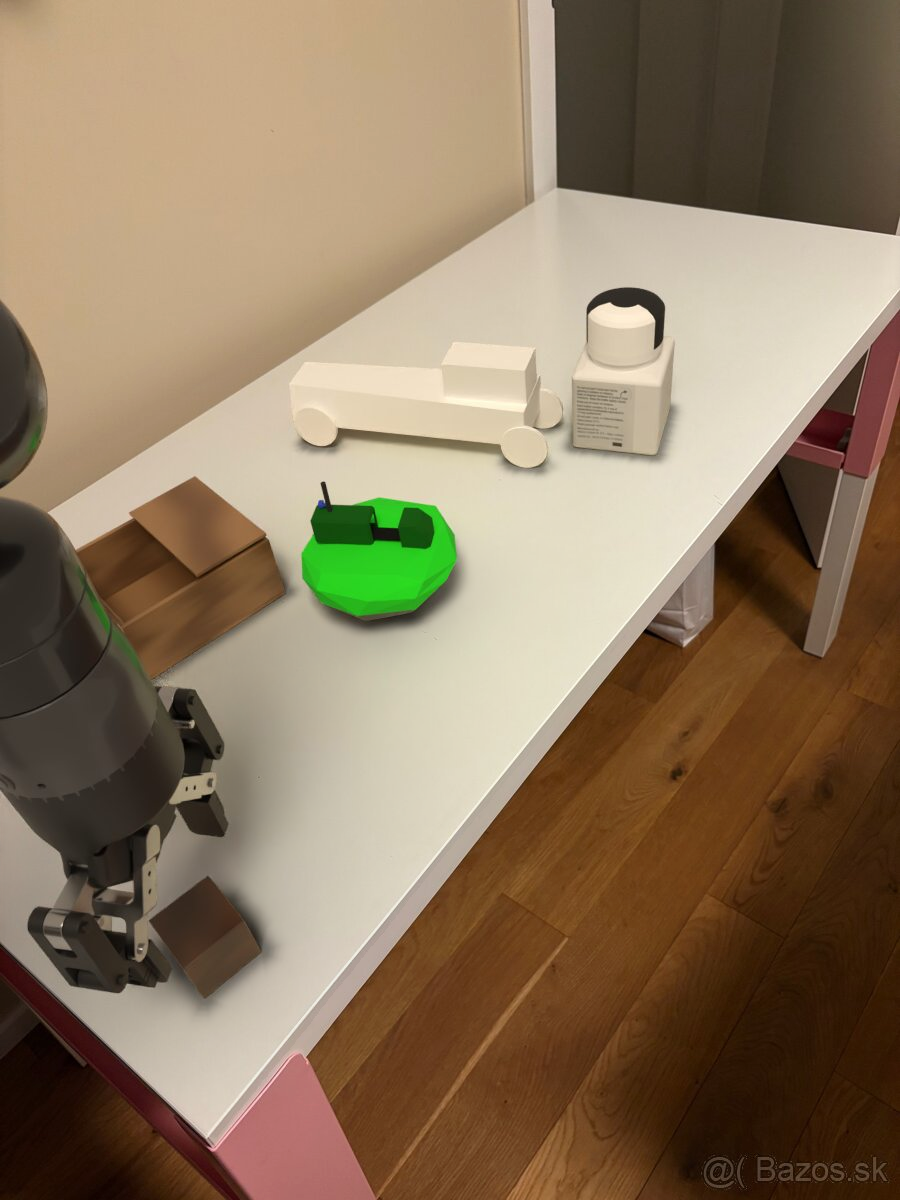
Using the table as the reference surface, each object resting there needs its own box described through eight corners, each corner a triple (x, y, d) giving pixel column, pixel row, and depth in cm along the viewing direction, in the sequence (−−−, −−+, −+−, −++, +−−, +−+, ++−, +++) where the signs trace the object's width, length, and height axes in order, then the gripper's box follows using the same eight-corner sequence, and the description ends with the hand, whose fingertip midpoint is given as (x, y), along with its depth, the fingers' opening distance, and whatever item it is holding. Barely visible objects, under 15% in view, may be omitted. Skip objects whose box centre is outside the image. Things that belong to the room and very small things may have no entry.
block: (204, 999, 54) (183, 970, 51) (169, 951, 57) (147, 920, 54) (262, 952, 56) (244, 920, 53) (226, 906, 58) (208, 874, 55)
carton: (148, 681, 72) (118, 621, 67) (86, 611, 78) (54, 552, 74) (286, 593, 77) (266, 532, 73) (217, 534, 84) (195, 475, 79)
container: (589, 401, 92) (590, 275, 83) (670, 408, 90) (679, 279, 81) (571, 448, 87) (569, 319, 78) (656, 457, 85) (665, 326, 76)
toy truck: (564, 427, 90) (562, 340, 83) (546, 473, 85) (543, 384, 78) (322, 404, 96) (303, 322, 90) (294, 445, 92) (272, 362, 85)
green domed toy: (297, 646, 73) (263, 539, 65) (336, 543, 81) (309, 438, 73) (450, 656, 71) (434, 546, 63) (474, 549, 79) (462, 441, 71)
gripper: (71, 881, 35) (199, 1041, 47) (208, 605, 45) (286, 794, 56) (-103, 858, 37) (63, 1019, 48) (66, 596, 46) (171, 782, 58)
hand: (183, 898), depth 52 cm, fingers open, 8 cm apart
